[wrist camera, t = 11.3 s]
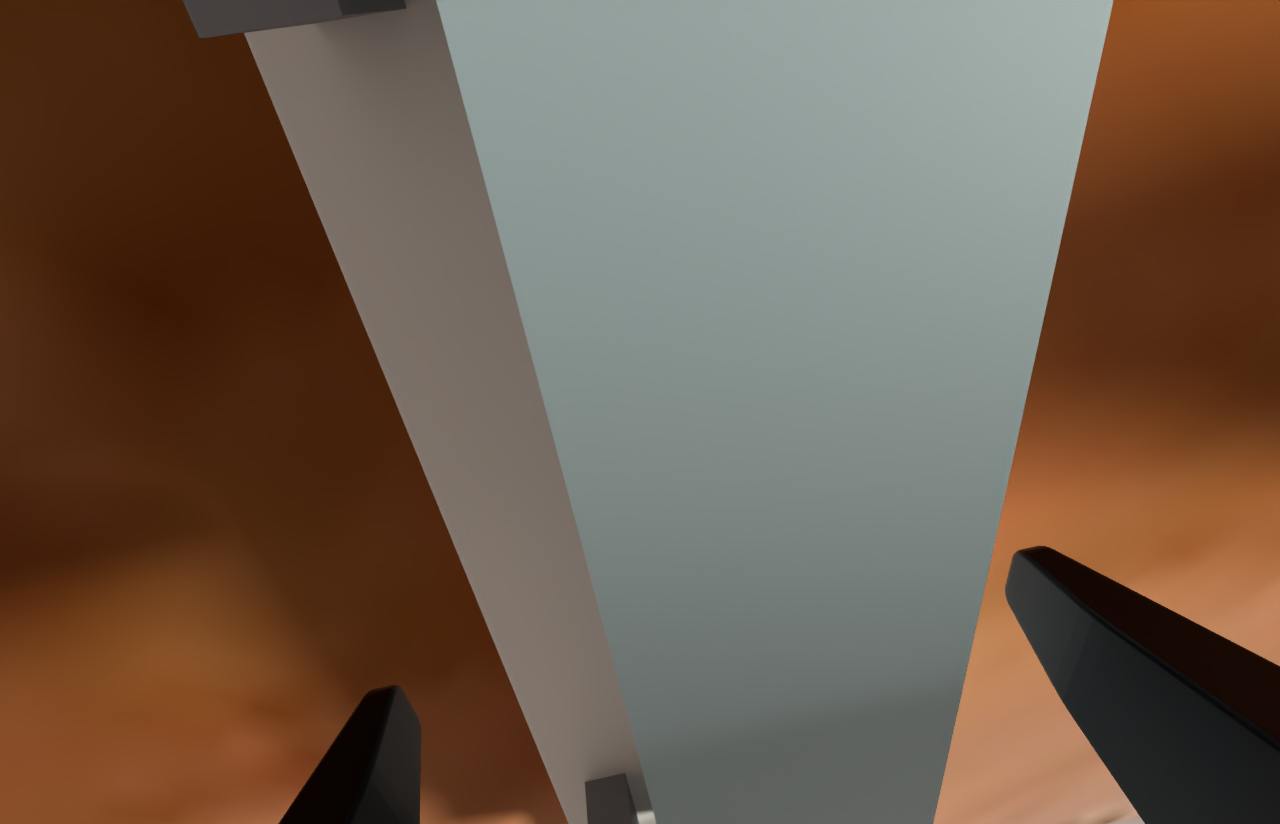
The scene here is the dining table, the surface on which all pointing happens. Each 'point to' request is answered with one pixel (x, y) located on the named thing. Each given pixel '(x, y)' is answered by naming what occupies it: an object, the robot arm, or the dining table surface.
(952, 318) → the slat
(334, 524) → the dining table surface
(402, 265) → the endcap stand
